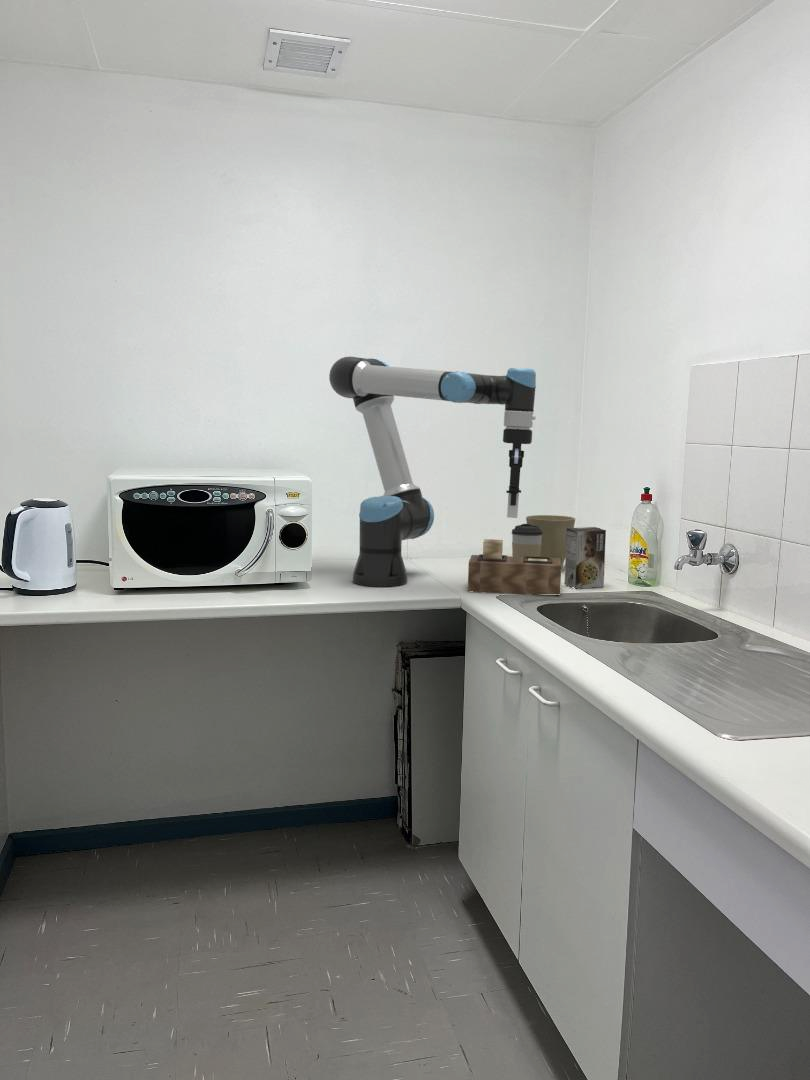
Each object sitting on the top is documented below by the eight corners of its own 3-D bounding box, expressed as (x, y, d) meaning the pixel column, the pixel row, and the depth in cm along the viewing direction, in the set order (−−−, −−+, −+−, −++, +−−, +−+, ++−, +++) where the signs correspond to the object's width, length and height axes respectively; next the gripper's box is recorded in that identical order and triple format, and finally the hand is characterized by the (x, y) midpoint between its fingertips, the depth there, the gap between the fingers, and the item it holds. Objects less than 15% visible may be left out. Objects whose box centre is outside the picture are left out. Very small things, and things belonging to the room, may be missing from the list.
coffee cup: (543, 579, 238) (545, 527, 236) (511, 578, 238) (513, 526, 236) (538, 573, 247) (540, 523, 245) (508, 572, 247) (510, 522, 245)
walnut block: (467, 591, 218) (468, 559, 217) (470, 583, 230) (471, 552, 229) (559, 596, 215) (561, 563, 213) (558, 587, 226) (559, 556, 225)
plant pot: (578, 567, 259) (580, 516, 256) (566, 574, 245) (568, 521, 243) (532, 562, 265) (534, 513, 263) (517, 570, 252) (519, 518, 249)
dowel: (482, 565, 220) (483, 541, 219) (483, 562, 225) (484, 539, 224) (501, 566, 219) (502, 542, 218) (501, 563, 224) (502, 539, 223)
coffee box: (592, 583, 233) (594, 526, 230) (604, 587, 227) (607, 529, 224) (563, 584, 230) (565, 527, 228) (574, 589, 224) (577, 530, 222)
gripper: (533, 429, 209) (526, 521, 213) (531, 428, 222) (525, 515, 226) (503, 428, 210) (497, 519, 214) (503, 427, 223) (498, 513, 227)
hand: (512, 517), depth 220 cm, fingers closed
